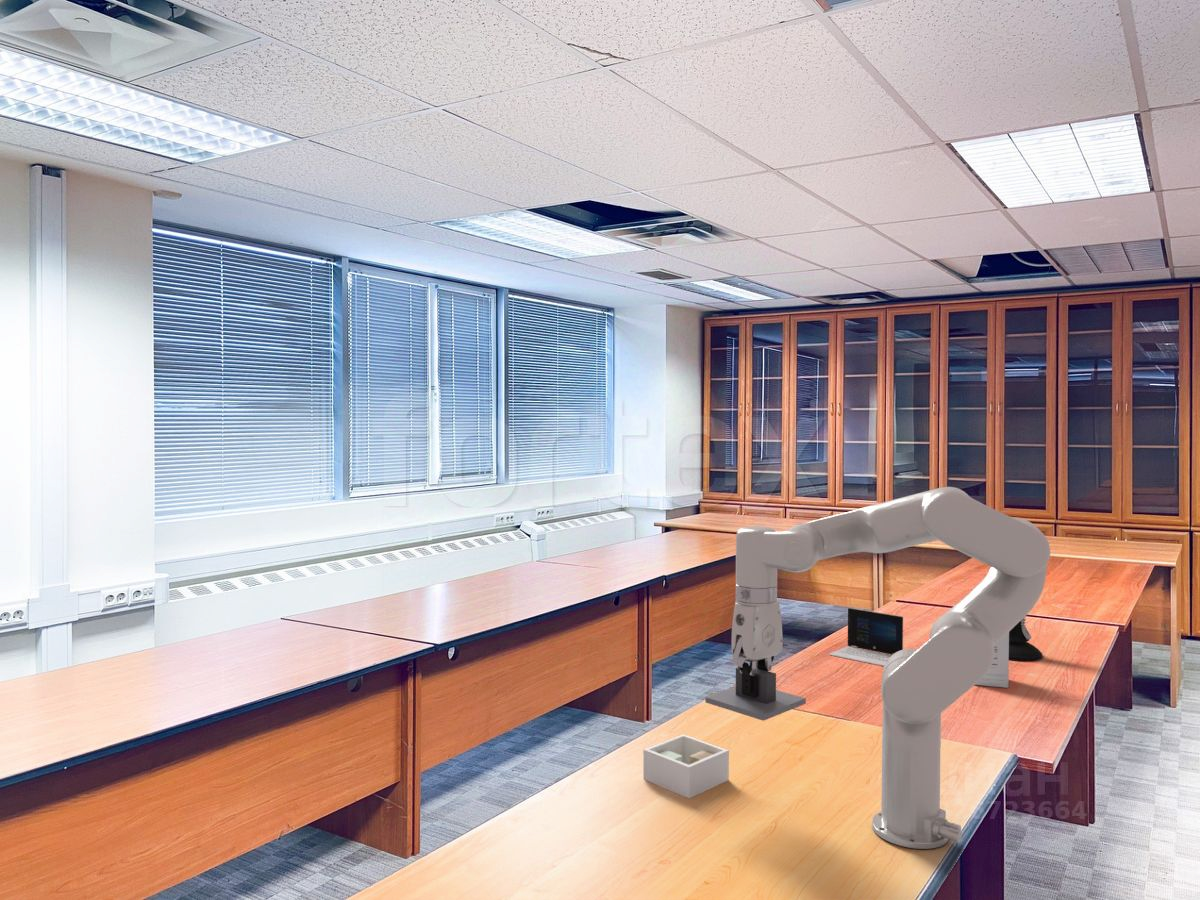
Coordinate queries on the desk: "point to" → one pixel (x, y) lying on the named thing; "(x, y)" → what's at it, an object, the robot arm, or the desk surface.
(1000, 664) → the supplement box
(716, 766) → the storage box
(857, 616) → the laptop
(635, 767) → the desk surface
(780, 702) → the lid
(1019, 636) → the sculpture
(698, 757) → the birch block
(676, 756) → the sage block
